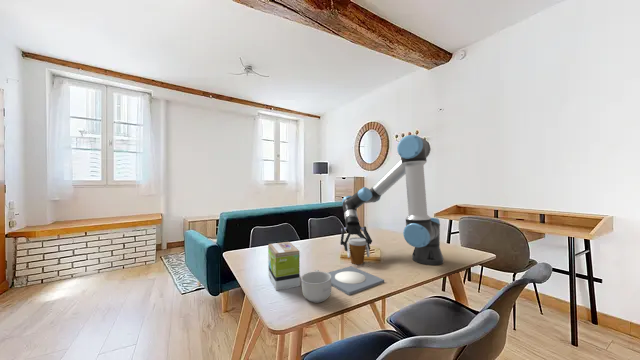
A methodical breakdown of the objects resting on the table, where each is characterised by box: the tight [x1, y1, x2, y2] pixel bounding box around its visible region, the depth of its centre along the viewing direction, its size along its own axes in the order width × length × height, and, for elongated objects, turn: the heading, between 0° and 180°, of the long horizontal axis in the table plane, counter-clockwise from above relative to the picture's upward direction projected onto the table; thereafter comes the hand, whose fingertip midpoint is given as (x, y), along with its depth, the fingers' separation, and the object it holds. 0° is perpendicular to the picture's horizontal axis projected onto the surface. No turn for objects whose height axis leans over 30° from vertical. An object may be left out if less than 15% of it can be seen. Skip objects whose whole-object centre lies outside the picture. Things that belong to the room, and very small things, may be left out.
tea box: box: [267, 241, 301, 291], centre depth 102 cm, size 15×10×15 cm, turn 23°
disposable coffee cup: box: [347, 237, 367, 266], centre depth 125 cm, size 10×10×12 cm
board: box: [327, 265, 385, 296], centre depth 103 cm, size 20×20×1 cm
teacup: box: [300, 269, 332, 303], centre depth 89 cm, size 14×11×8 cm
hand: (358, 256), depth 122 cm, fingers closed on disposable coffee cup, 9 cm apart
